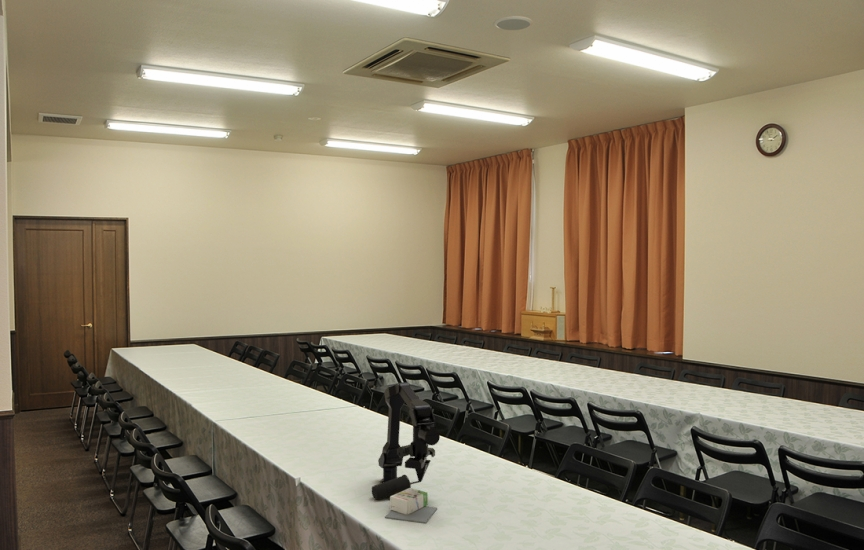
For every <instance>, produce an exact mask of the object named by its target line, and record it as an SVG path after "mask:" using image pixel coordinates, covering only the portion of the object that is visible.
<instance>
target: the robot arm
mask: <svg viewBox="0 0 864 550" xmlns="http://www.w3.org/2000/svg"><path fill="white" fill-rule="evenodd" d="M383 394H384V399H385V403H386V404H387V406H388V417H387V418H388V419H387V436H386V437H387V439H386V442H385V444H384V445H383V447H382V449H381V450H382V453H381V454H380V455H379V458H378V460H377V461H378V466H379V467H380V468H381V469H382V478H381V480H380V481H379V482H380V483H384V482H387V481H389V480H392V479H395V478H398V467H402V466H403V461H404V457H407V456H409V458H407V459H406V460H405V461H404V468H406V469H413V470H415V473H416V476H417V481H421V482H423V480H424V477H425V475H426V473H427V470H428V468H429V465H430V463H431V462H432V461H431V460H430V459H428V458H427V457H429V456H430V457H431V458H434V457H435V456H436V450H435V449H434V448H433V447H429V446H435V445H437V444H438V443H439V441H440V436H441V435H440V433H439V431H438V430H437V429H435V428H436V427H435V425H436V417H435V414H434V412H433V409H432V407H431V405H430V404H429V403H428V402H426V401H424V400H422V399H420V398H419V396H418V395H417V394H416V392H415V391H414V390H413V388H412V387H411V384H410V383H409V382H408V381H406V382H397V383H395V384H394V385H392V386H388V387H387V388H386V389H385V390H384V393H383ZM404 404H406V405H407V407H408V409H409V411H408V414H409V417H410V419H411V424H412V441H411V442H410V444H407V445H400V430H401V429H400V425H401V411H402V410H401V409H402V408H403V406H404Z"/></svg>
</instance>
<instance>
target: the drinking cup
mask: <svg viewBox="0 0 864 550" xmlns="http://www.w3.org/2000/svg"><path fill="white" fill-rule="evenodd" d="M421 482H422V481H418V480H417V481H410V479H409V477H408V475H406V474H402V475H401V476H397V478H395V479H392V480H389V481H387V482H380V483H378V484H376V485H373V486H372V487H371V494H372V498H373V499H374V500H380V499H381V500H382V499H386V498H390V496H392V495H395V494H397V493H399V492H402V491H404V490H406V489H408V488H412V485H414V484H418V483H421Z"/></svg>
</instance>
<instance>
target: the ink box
mask: <svg viewBox="0 0 864 550" xmlns="http://www.w3.org/2000/svg"><path fill="white" fill-rule="evenodd" d="M428 497H429V496H428V492H427V491H425V490H424V491H423V490H419V489H415V488H413V487H411V488H408V489H406V490H404V491H402V492H399V493H397V494H395V495H392V496H390V497H389V510H390V511H391V510H393V511H396V512H399V513H402V514H405V515H406V514H407V515H408V514H410V513H412V512H414V511H416V510H418V509H420V508H422V507H424V506H428V500H429V499H428Z"/></svg>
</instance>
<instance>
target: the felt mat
mask: <svg viewBox="0 0 864 550" xmlns="http://www.w3.org/2000/svg"><path fill="white" fill-rule="evenodd" d="M437 510H438V507H436V506H435V507H434V506H430V505H429V506H428V505H426V506H424V507H422V508H420V509H418V510H416V511H414V512H412V513H410V514H408V515H407V514H406V515H405V514H402V513H399V512H396V511H393V510H391V509H390V511H389V512H388V513H386V515H385V516H384V518H385V519H388V520H389V519H391V520H396V521H404V522H412V523H413V522H414V523H418V524H419V523H421V524H427V523H428V522H429V520H430V519H431V518H432V517H433V515H435V513H436V511H437Z"/></svg>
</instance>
